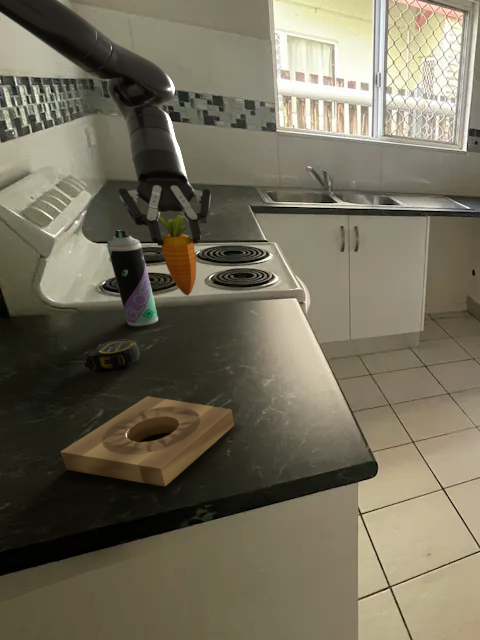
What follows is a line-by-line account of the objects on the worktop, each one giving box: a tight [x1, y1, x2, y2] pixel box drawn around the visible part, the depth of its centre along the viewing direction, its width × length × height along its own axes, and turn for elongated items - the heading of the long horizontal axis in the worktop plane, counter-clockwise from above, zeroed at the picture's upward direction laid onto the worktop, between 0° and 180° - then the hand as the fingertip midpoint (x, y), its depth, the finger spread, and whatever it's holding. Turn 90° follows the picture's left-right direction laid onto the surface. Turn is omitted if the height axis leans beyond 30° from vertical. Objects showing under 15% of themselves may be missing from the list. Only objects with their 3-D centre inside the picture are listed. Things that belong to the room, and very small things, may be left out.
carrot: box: [158, 214, 197, 296], centre depth 86 cm, size 5×5×15 cm
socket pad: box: [60, 395, 235, 487], centre depth 68 cm, size 14×14×3 cm
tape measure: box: [83, 339, 141, 371], centre depth 86 cm, size 7×7×4 cm
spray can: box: [106, 229, 159, 327], centre depth 99 cm, size 6×6×20 cm
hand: (178, 241), depth 83 cm, fingers closed on carrot, 4 cm apart
